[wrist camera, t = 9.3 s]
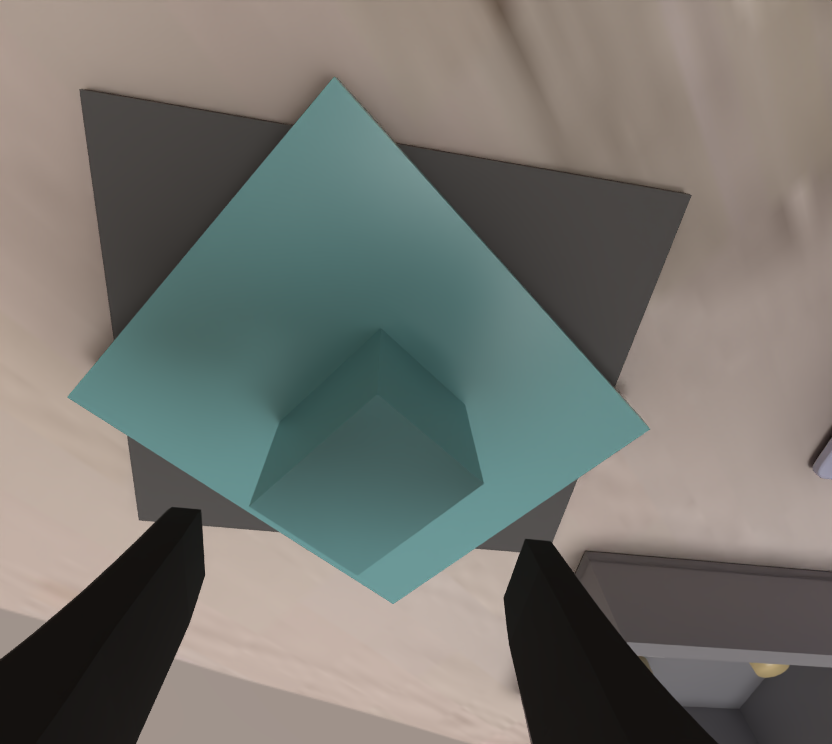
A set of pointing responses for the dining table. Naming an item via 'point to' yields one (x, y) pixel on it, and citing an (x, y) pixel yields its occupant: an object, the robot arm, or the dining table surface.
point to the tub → (726, 641)
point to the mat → (448, 172)
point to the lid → (357, 363)
